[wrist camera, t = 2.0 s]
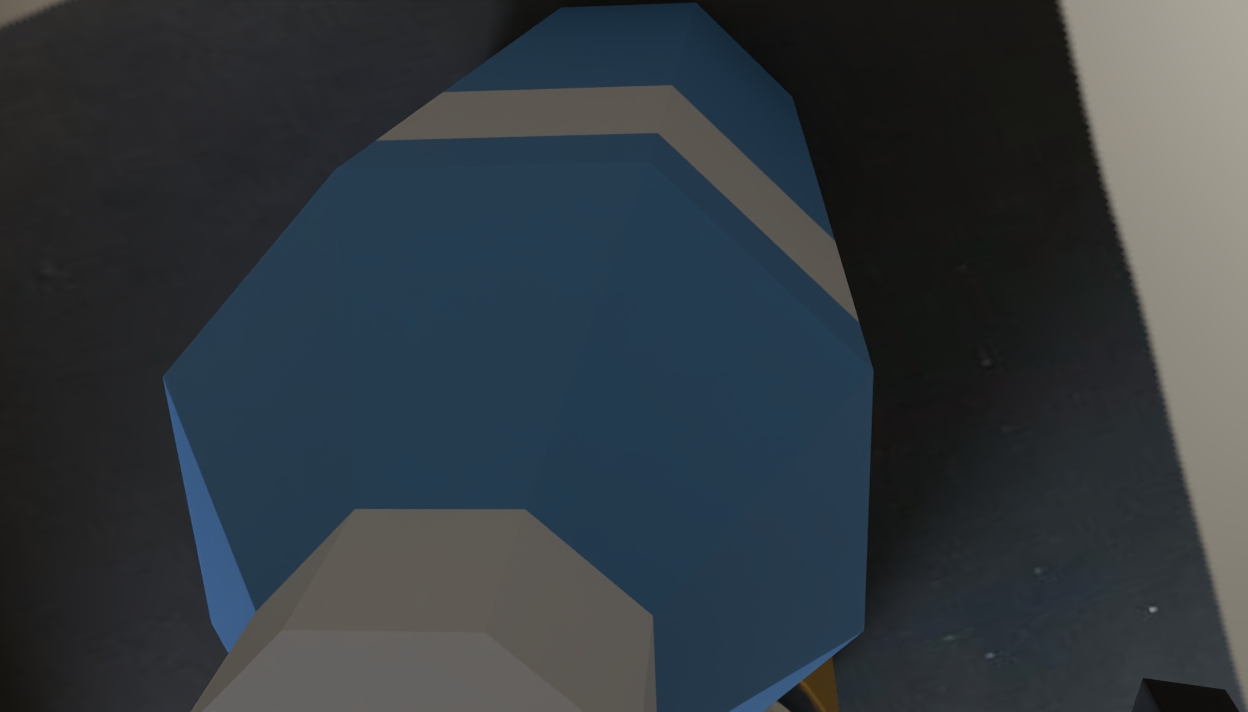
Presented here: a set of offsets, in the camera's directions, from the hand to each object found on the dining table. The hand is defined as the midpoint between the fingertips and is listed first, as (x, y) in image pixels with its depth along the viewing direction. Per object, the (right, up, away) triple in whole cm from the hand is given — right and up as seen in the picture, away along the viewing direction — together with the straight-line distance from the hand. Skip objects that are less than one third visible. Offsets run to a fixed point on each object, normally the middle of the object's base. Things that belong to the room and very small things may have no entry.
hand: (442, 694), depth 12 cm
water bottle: (+2, +9, +22) cm, 23 cm away
